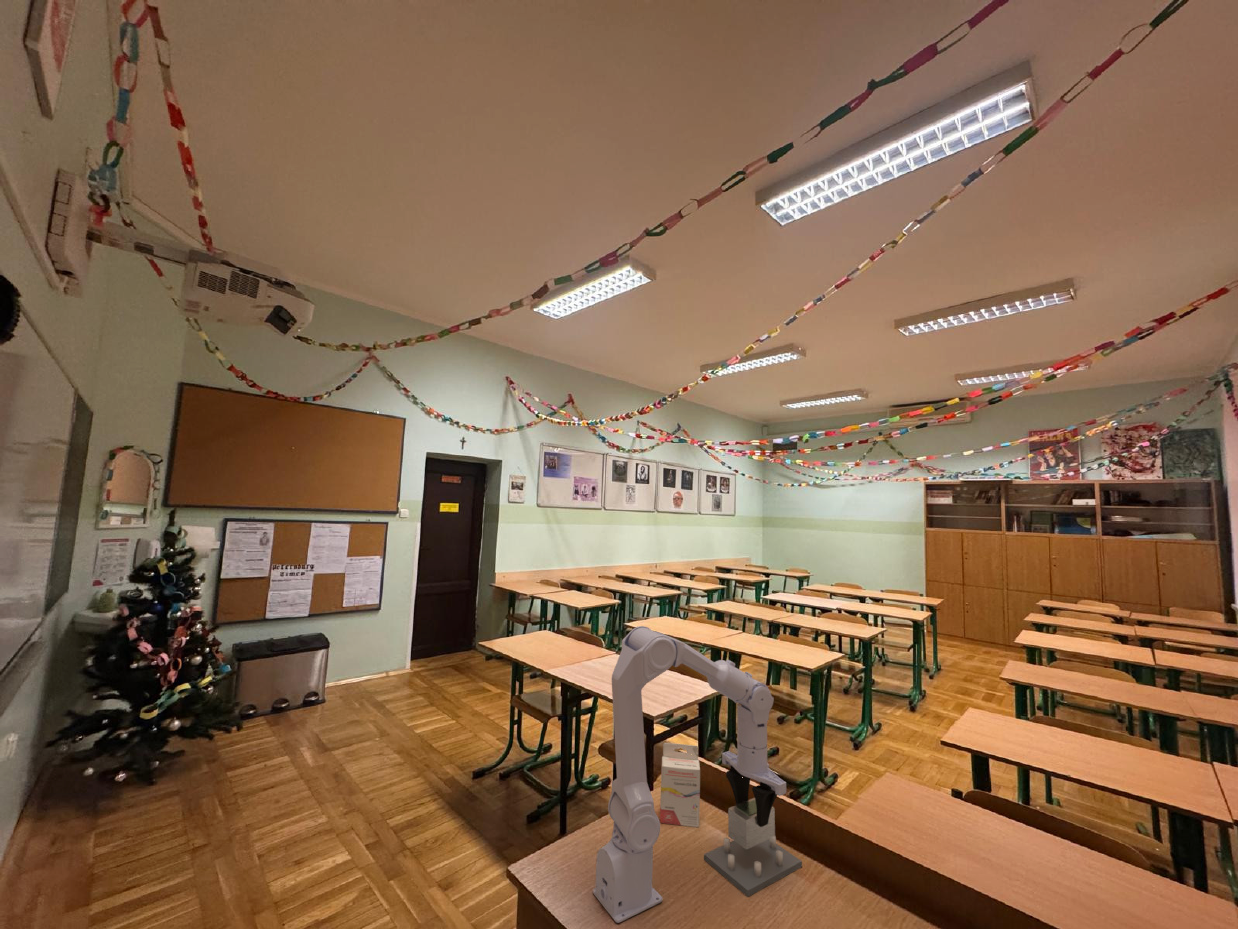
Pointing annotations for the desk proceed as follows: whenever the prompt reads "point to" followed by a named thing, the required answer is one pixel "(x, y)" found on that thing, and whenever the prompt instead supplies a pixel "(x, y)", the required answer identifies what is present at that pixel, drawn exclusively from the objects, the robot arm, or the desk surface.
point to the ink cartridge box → (680, 785)
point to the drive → (749, 824)
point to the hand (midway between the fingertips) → (752, 818)
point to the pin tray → (752, 864)
